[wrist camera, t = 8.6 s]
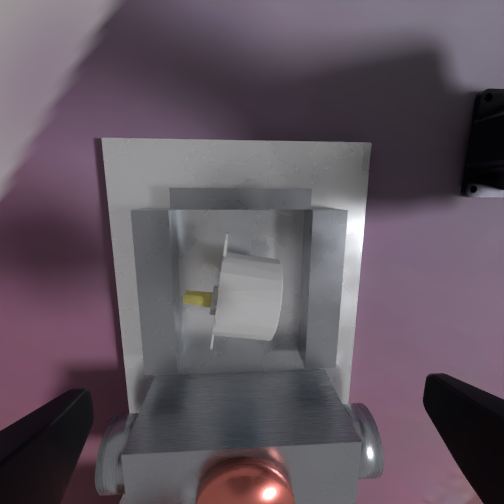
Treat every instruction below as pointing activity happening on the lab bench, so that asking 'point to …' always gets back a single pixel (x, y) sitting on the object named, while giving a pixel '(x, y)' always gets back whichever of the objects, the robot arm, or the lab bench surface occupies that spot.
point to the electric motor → (243, 297)
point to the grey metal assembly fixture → (231, 348)
